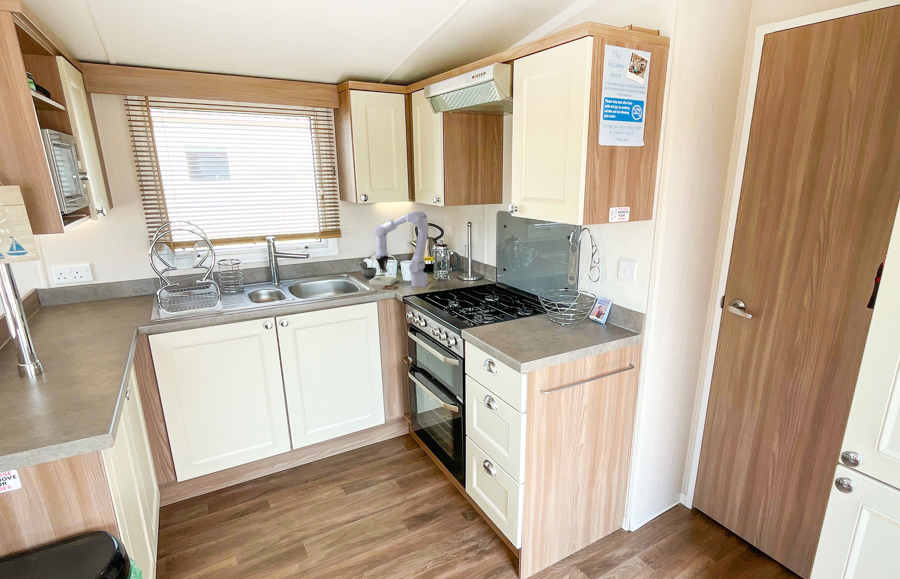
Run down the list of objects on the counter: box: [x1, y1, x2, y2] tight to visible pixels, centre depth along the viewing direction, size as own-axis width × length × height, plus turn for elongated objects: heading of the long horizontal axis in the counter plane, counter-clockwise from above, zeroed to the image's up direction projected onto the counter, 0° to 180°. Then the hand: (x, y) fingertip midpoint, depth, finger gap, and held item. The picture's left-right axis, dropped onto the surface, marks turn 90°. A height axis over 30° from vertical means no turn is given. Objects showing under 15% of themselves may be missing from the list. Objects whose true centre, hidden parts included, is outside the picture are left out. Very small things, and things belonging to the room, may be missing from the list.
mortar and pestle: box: [358, 260, 378, 281], centre depth 282 cm, size 11×9×12 cm
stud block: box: [381, 284, 398, 291], centre depth 253 cm, size 10×10×2 cm
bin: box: [368, 275, 398, 286], centre depth 268 cm, size 13×13×4 cm
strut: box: [379, 260, 388, 274], centre depth 264 cm, size 4×4×7 cm
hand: (383, 268), depth 264 cm, fingers closed on strut, 3 cm apart
